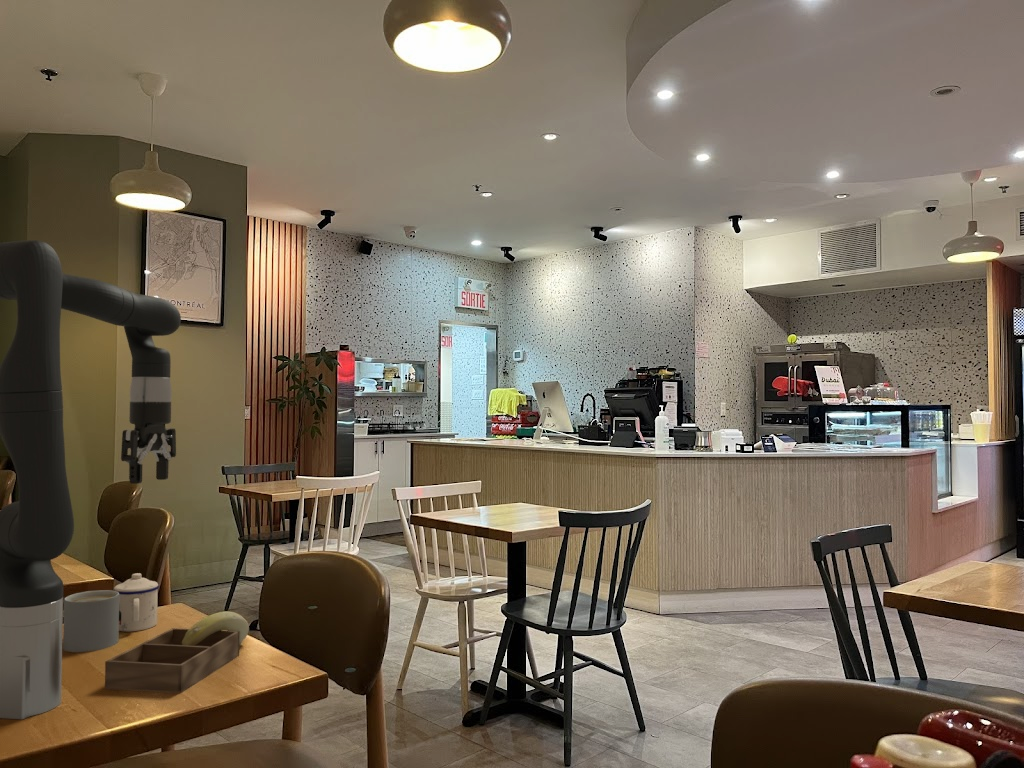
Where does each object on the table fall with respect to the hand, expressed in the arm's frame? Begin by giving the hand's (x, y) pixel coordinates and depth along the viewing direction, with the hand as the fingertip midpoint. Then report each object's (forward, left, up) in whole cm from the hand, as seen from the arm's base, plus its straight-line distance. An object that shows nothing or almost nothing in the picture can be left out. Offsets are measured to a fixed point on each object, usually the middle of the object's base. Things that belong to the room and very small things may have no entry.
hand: (149, 481), depth 151 cm
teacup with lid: (+16, +13, -34) cm, 40 cm away
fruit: (-6, -12, -30) cm, 33 cm away
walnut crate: (-9, -12, -34) cm, 37 cm away
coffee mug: (+5, +16, -34) cm, 38 cm away
